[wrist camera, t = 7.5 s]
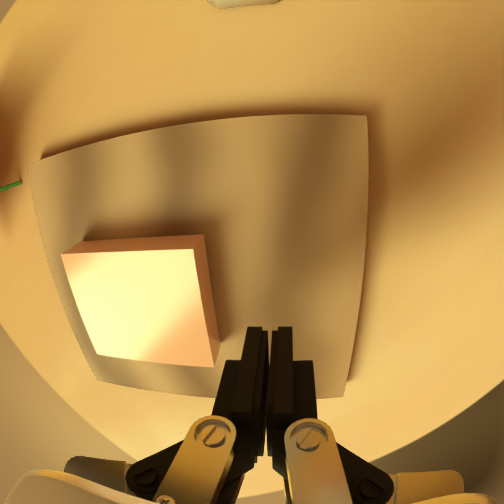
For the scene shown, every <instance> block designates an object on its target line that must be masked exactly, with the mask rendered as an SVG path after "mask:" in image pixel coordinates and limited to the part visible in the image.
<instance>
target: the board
mask: <svg viewBox="0 0 504 504" xmlns="http://www.w3.org/2000/svg"><path fill="white" fill-rule="evenodd" d="M28 173H29V180H30V187H31V193H32V198H33V204H34V209H35V214H36V218H37V223H38V227H39V231H40V235H41V239H42V243H43V247H44V251H45V254H46V258H47V261H48V264H49V268H50V271H51V274H52V277H53V280H54V283H55V286H56V289H57V292H58V295H59V297H60V300H61V303H62V305H63V308H64V310H65V313H66V316H67V318H68V320H69V323H70V325H71V328H72V330H73V332H74V335H75V337H76V339H77V341H78V343H79V346H80V348H81V350H82V352H83V354H84V356H85V358H86V360H87V362H88V364H89V366H90V368H91V370H92V372H93V374H94V376H95V378H96V380H98V381H103V382H107V383H112V384H117V385H122V386H127V387H132V388H138V389H144V390H150V391H156V392H163V393H171V394H179V395H187V396H197V397H209V398H216V396H217V392H218V388H219V384H220V380H221V376H222V372H223V368H224V365H225V361H226V360H241V356H242V351H243V346H244V341H245V336H246V331H247V327H248V326H254V327H262V329H263V330H268V345H269V365H270V352H271V339H272V330H278V327H282V326H292V330H293V361H299V360H313V366H314V378H315V390H316V399H322V398H336V397H343V395H344V391H345V386H346V382H347V377H348V372H349V367H350V362H351V357H352V351H353V345H354V340H355V334H356V327H357V321H358V314H359V307H360V299H361V291H362V282H363V273H364V262H365V250H366V236H367V218H368V185H369V158H368V126H367V116H363V115H341V114H287V115H265V116H250V117H238V118H228V119H218V120H210V121H202V122H194V123H188V124H181V125H175V126H169V127H163V128H158V129H152V130H147V131H142V132H138V133H133V134H128V135H124V136H120V137H116V138H111V139H107V140H104V141H100V142H96V143H92V144H89V145H85V146H82V147H78V148H75V149H72V150H68V151H65V152H62V153H59V154H56V155H53V156H50V157H47V158H44V159H41V160H39V161H36V162H33V163H30V164H28ZM198 234H204V237H205V245H206V253H207V260H208V267H209V274H210V281H211V288H212V294H213V301H214V307H215V313H216V320H217V326H218V332H219V338H220V343H221V346H220V349H219V353H218V357H217V360H216V364H215V367H199V366H185V365H174V364H164V363H155V362H146V361H139V360H131V359H124V358H118V357H112V356H106V355H100V354H97V352H96V350H95V348H94V346H93V344H92V341H91V339H90V337H89V334H88V332H87V329H86V327H85V324H84V322H83V319H82V317H81V314H80V312H79V309H78V306H77V304H76V301H75V298H74V295H73V292H72V289H71V286H70V283H69V280H68V277H67V274H66V271H65V267H64V264H63V261H62V257H61V254H62V253H63V252H65V251H66V250H68V249H69V248H71V247H72V246H74V245H75V244H77V243H79V242H80V241H94V240H109V239H125V238H141V237H159V236H178V235H198Z"/></svg>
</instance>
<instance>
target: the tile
mask: <svg viewBox="0 0 504 504" xmlns="http://www.w3.org/2000/svg"><path fill="white" fill-rule="evenodd" d="M61 257H62V261H63V264H64V267H65V271H66V274H67V277H68V280H69V283H70V286H71V289H72V292H73V295H74V298H75V301H76V304H77V306H78V309H79V312H80V314H81V317H82V319H83V322H84V324H85V327H86V329H87V332H88V334H89V337H90V339H91V341H92V344H93V346H94V348H95V350H96V352H97V354H100V355H106V356H112V357H118V358H124V359H131V360H139V361H146V362H155V363H164V364H174V365H185V366H199V367H215V364H216V360H217V357H218V353H219V349H220V346H221V343H220V338H219V332H218V326H217V320H216V313H215V307H214V301H213V294H212V288H211V281H210V274H209V267H208V260H207V253H206V245H205V237H204V234H198V235H178V236H159V237H141V238H125V239H109V240H94V241H80V242H79V243H77V244H75V245H74V246H72V247H71V248H69V249H68V250H66V251H65V252H63V253H62V254H61Z"/></svg>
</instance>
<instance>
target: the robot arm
mask: <svg viewBox="0 0 504 504" xmlns="http://www.w3.org/2000/svg"><path fill="white" fill-rule="evenodd" d="M266 432H267V450H268V456H272V463H273V469H274V470H275V471H276V472H278V473H279V474H280V475H281V476H282V479H283V486H284V494H285V501H286V504H497V502H496V501H495V500H494V499H493V498H492V497H490V496H487V495H484V494H476V493H464V491H463V490H464V487H463V479H462V477H461V475H460V474H459V473H457V472H455V471H451V470H445V471H434V472H418V473H399V474H398V475H388V474H386V473H385V472H383V471H382V470H380V469H378V468H376V467H375V466H373V465H371V464H370V463H368V462H366V461H365V460H363V459H362V458H360V457H358V456H357V455H355V454H354V453H352V452H350V451H349V450H347V449H346V448H344V447H343V446H341V445H340V444H338V443H337V442H336V441H335V438H334V434H333V432H332V430H331V428H330V426H328V425H327V424H326V423H325V422H323V421H321V420H318V419H317V404H316V390H315V378H314V366H313V360H299V361H293V330H292V326H282V327H278V330H272V339H271V352H270V365H269V345H268V330H263V329H262V327H254V326H248V327H247V331H246V336H245V341H244V346H243V351H242V356H241V360H226V361H225V365H224V368H223V372H222V376H221V380H220V384H219V388H218V392H217V396H216V399H215V403H214V407H213V411H212V415H211V416H205V417H203V418H200V419H198V420H197V421H196V422H194V423H193V425H192V426H191V427H190V429H189V431H188V433H187V435H186V437H185V439H184V440H182V441H180V442H178V443H176V444H174V445H172V446H170V447H168V448H166V449H164V450H162V451H160V452H158V453H156V454H153V455H151V456H149V457H147V458H145V459H142V460H140V461H138V462H136V463H134V464H127V463H126V462H125V461H115V460H106V459H99V458H92V457H85V456H75V457H73V458H71V459H70V460H69V461H68V462H67V464H66V465H65V469H64V472H61V471H56V470H46V469H41V470H32V471H29V472H27V473H25V474H24V475H23V476H21V477H20V478H19V480H18V481H17V482H16V484H15V485H14V486H13V488H12V489H11V491H10V492H9V494H8V496H7V498H6V500H5V501H4V503H3V504H235V502H236V500H237V497H238V494H239V491H240V488H241V485H242V483H243V480H244V477H245V473H246V472H248V471H249V470H251V469H252V468H254V463H257V457H258V456H263V454H264V444H265V433H266Z"/></svg>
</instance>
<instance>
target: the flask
mask: <svg viewBox="0 0 504 504" xmlns="http://www.w3.org/2000/svg"><path fill="white" fill-rule="evenodd" d="M207 1H209V2H210V3H211V4H212V5H214V6H215V7H216V8H218V9H222V8H229V7H237V6H247V5H258V4H274V3H275V2H277V1H279V0H207Z"/></svg>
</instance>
